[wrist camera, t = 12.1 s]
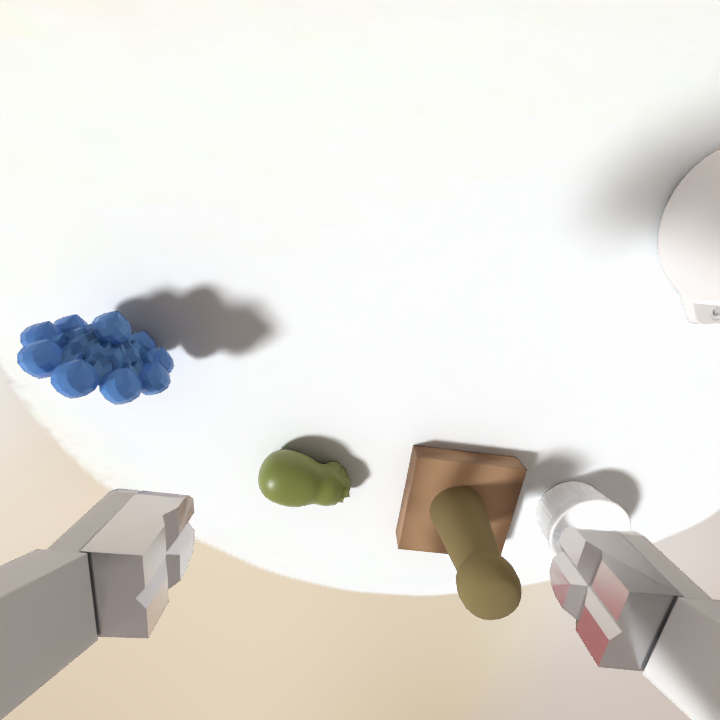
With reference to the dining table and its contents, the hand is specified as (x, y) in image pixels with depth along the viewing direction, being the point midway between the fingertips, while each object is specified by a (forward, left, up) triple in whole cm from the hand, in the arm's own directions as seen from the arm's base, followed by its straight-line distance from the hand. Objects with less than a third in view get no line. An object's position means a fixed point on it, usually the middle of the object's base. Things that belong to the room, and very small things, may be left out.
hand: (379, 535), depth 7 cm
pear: (+4, +17, -28) cm, 33 cm away
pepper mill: (-13, +19, -26) cm, 35 cm away
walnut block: (-14, +19, -28) cm, 36 cm away
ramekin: (-28, +19, -28) cm, 44 cm away
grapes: (+21, +4, -28) cm, 36 cm away
